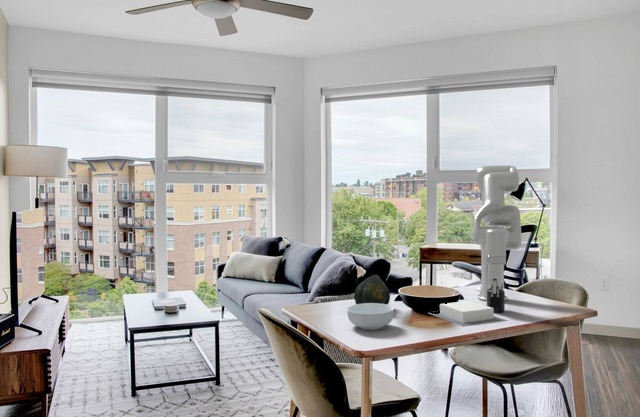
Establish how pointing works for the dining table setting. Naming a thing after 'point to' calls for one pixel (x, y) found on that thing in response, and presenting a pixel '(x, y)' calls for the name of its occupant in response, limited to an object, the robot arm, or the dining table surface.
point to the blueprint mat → (496, 319)
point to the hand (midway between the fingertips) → (495, 304)
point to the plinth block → (466, 311)
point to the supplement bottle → (501, 301)
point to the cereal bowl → (370, 315)
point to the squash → (372, 291)
